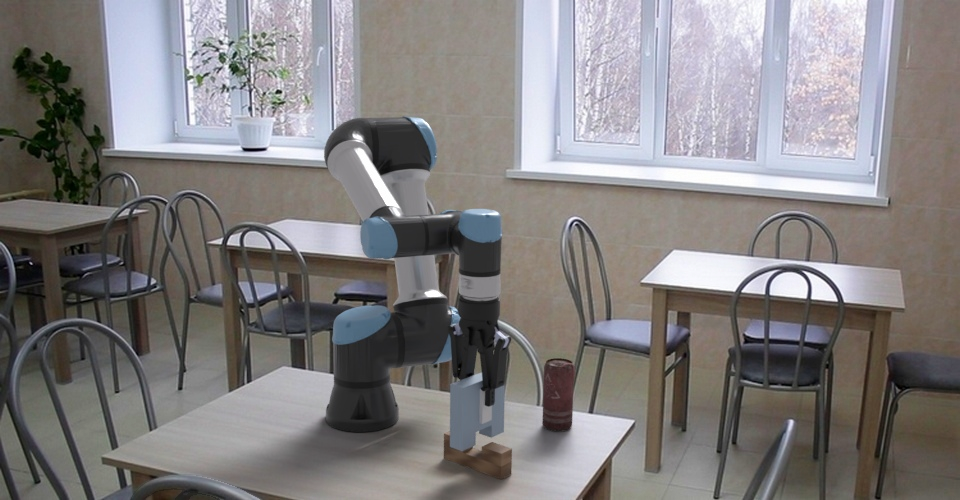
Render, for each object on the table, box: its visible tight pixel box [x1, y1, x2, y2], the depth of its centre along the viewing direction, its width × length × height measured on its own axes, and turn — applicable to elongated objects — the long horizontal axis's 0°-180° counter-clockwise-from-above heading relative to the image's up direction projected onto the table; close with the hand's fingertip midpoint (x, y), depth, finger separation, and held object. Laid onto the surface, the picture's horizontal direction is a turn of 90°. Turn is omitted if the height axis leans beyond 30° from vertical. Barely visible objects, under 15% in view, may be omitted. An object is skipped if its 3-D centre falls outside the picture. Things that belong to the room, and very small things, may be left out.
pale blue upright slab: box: [449, 371, 506, 451], centre depth 181 cm, size 3×12×12 cm, turn 140°
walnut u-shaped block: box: [443, 430, 513, 480], centre depth 183 cm, size 14×3×5 cm, turn 50°
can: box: [542, 357, 576, 432], centre depth 201 cm, size 6×6×14 cm
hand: (477, 418), depth 181 cm, fingers closed on pale blue upright slab, 3 cm apart
